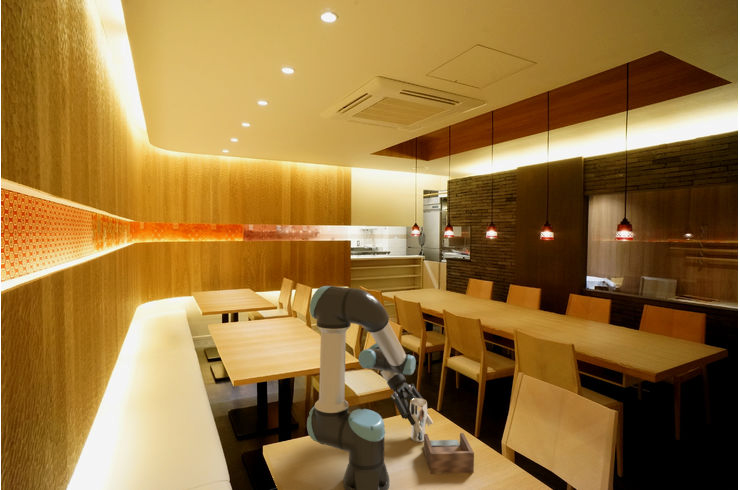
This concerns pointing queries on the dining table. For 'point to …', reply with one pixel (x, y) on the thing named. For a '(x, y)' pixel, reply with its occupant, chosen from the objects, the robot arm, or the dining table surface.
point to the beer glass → (418, 417)
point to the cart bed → (449, 455)
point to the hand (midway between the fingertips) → (425, 427)
